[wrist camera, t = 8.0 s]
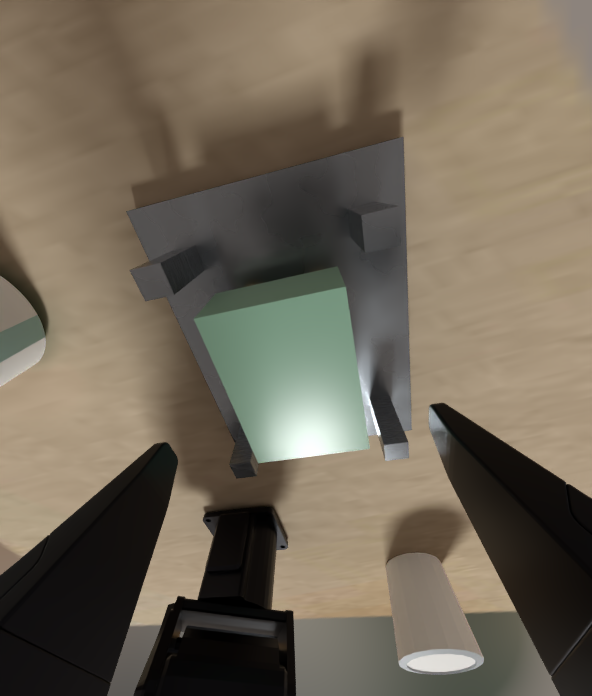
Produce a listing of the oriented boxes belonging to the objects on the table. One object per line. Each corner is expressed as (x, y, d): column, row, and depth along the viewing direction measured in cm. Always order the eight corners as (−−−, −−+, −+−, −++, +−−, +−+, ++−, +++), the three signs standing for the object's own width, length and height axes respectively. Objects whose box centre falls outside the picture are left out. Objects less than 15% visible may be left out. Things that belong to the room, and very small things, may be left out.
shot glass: (452, 574, 30) (490, 673, 24) (390, 584, 31) (410, 679, 25) (439, 543, 27) (478, 647, 21) (370, 556, 28) (388, 656, 22)
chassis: (407, 421, 19) (433, 479, 15) (241, 443, 21) (227, 501, 17) (397, 139, 11) (443, 115, 8) (135, 210, 13) (65, 219, 9)
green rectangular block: (359, 407, 16) (369, 448, 13) (265, 422, 16) (258, 463, 14) (337, 266, 12) (345, 286, 9) (215, 293, 12) (193, 318, 10)
